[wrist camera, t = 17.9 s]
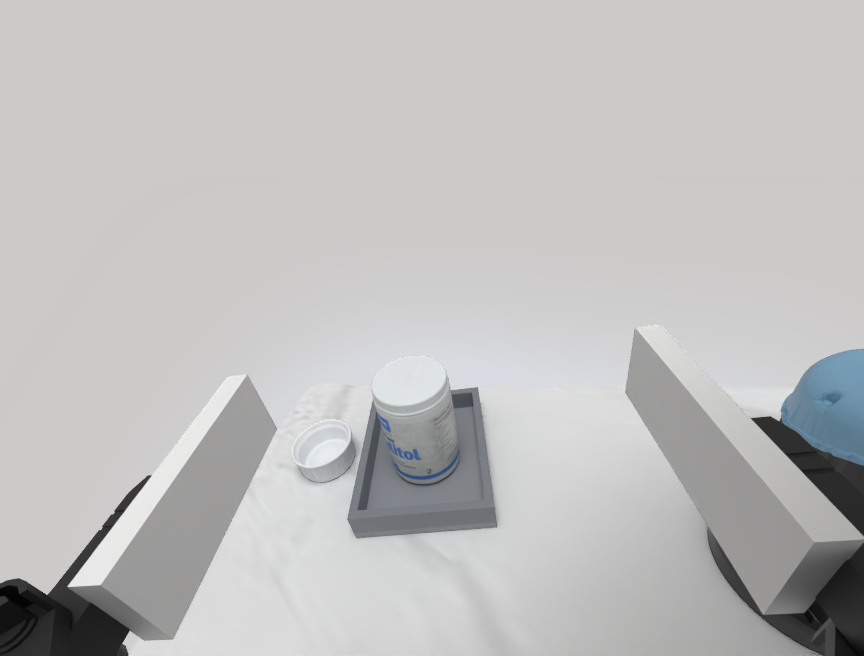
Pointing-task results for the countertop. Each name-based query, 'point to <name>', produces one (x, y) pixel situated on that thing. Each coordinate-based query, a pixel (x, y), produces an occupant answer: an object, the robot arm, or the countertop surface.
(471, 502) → the tray
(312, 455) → the ramekin
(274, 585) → the countertop surface
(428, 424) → the supplement tub
